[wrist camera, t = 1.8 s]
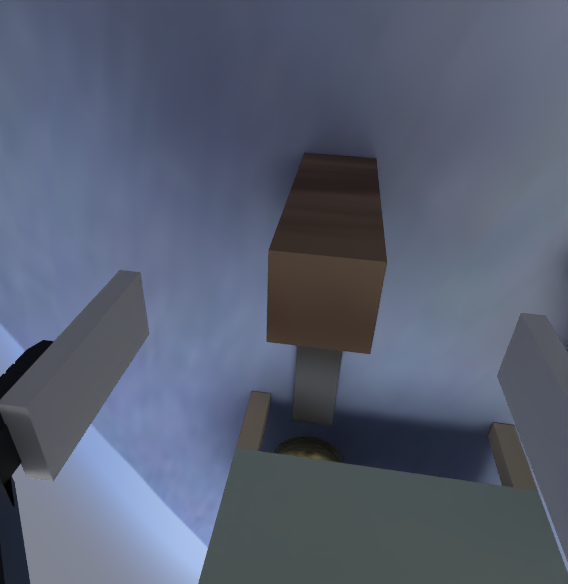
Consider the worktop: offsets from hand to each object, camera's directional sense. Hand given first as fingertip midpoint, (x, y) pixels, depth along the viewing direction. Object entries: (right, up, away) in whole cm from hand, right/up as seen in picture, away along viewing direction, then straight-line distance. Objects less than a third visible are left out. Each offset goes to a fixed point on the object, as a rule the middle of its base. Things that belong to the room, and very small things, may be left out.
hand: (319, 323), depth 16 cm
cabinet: (+6, -12, +22) cm, 25 cm away
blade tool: (+1, 0, +15) cm, 15 cm away
